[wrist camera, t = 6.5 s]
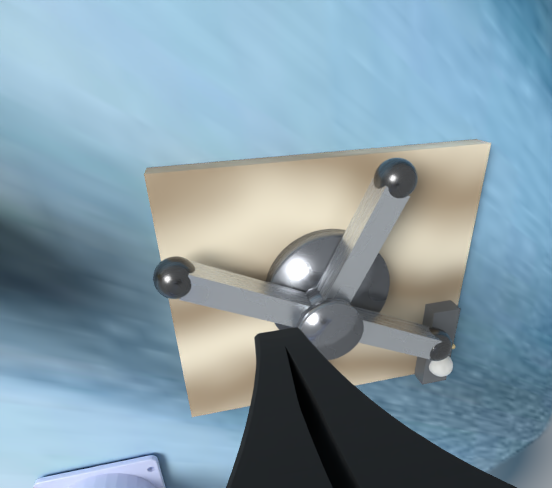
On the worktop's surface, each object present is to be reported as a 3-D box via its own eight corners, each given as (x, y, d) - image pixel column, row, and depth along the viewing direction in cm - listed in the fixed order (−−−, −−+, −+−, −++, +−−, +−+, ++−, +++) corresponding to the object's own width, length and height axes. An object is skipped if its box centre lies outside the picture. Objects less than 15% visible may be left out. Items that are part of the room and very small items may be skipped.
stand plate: (435, 356, 28) (444, 368, 27) (192, 402, 25) (192, 417, 24) (475, 139, 21) (490, 143, 20) (146, 168, 18) (144, 174, 17)
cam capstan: (508, 206, 22) (561, 230, 19) (365, 422, 28) (387, 468, 25) (218, 73, 16) (225, 76, 13) (112, 384, 22) (99, 438, 19)
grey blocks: (438, 369, 27) (453, 388, 26) (413, 374, 27) (427, 393, 25) (452, 299, 24) (470, 316, 23) (424, 304, 24) (440, 321, 23)
